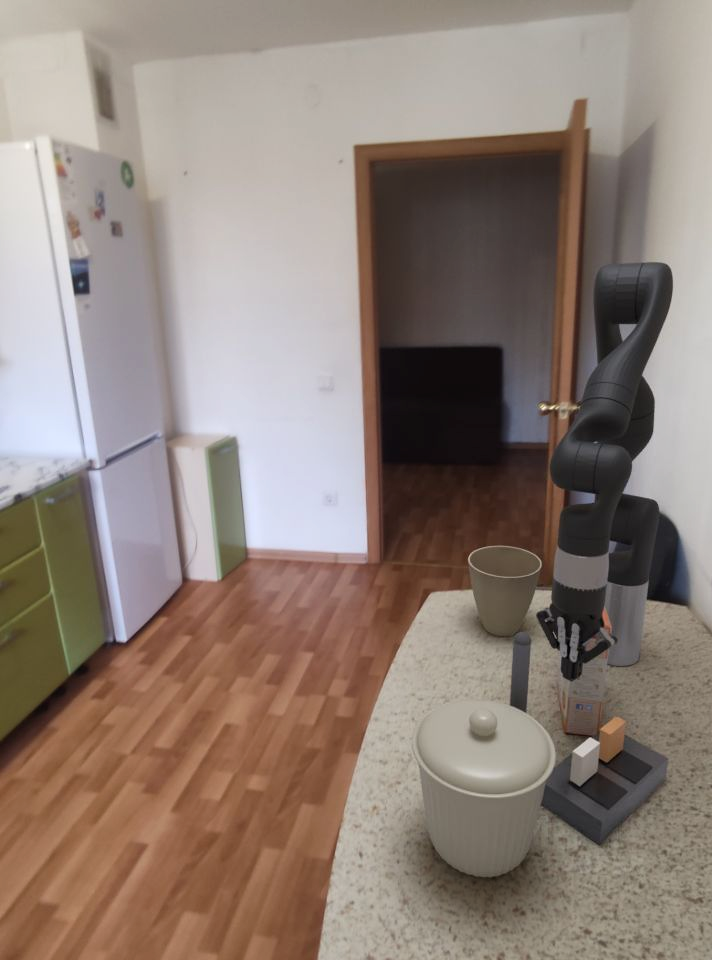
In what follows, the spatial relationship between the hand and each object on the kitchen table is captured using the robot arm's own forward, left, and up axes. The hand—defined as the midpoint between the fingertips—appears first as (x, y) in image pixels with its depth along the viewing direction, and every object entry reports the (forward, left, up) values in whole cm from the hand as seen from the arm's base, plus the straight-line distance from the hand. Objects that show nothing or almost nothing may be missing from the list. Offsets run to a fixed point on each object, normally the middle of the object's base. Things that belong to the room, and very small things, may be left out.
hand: (570, 677), depth 101 cm
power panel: (+3, +8, -14) cm, 17 cm away
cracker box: (-11, -5, -14) cm, 18 cm away
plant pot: (-22, -31, -14) cm, 40 cm away
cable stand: (+11, -2, -14) cm, 18 cm away
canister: (+24, +3, -14) cm, 28 cm away
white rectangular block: (+7, +7, -10) cm, 14 cm away
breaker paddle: (0, +7, -10) cm, 12 cm away
